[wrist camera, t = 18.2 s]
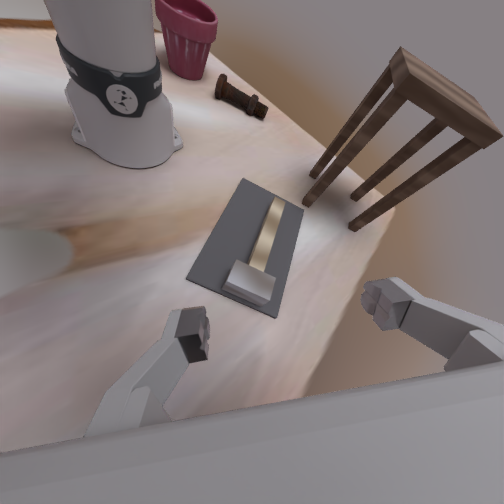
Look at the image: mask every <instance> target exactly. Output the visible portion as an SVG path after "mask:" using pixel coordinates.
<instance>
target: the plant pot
mask: <svg viewBox="0 0 504 504" xmlns="http://www.w3.org/2000/svg"><path fill="white" fill-rule="evenodd" d="M155 10H156V16H157V17H158V19H159V20H160V22H161V27H162V32H163V37H164V42H165V47H166V52H167V56H168V62H169V66H170V68H171V70H172V71H173V72H174V73H175V74H177V75H178V76H180V77H182V78H185V79H188V80H199V79H201V78H202V75H203V72H204V68H205V65H206V61H207V58H208V54H209V50H210V46H211V43H212V42H214V41H215V39H216V33H217V23H218V19H217V16H216V14H215V13H214V11H213V10H212V9H211V8H210V7H209V6H208V5H206V4H205V3H203V2H202V1H201V0H155Z"/></svg>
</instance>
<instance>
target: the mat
mask: <svg viewBox="0 0 504 504" xmlns="http://www.w3.org/2000/svg"><path fill="white" fill-rule="evenodd" d="M274 197H277V198H279V199H281V200H283V201H285V202H286V203H285V206H284V209H283V212H282V216H281V219H280V222H279V225H278V228H277V231H276V235H275V238H274V241H273V244H272V247H271V251H270V254H269V257H268V260H267V263H266V266H265V270H264V272H265V273H267V274H269V275H271V276H273V277H275V278H276V280H275V283H274V287H273V291H272V295H271V298H270V301H269V302H267V303H266V304H264V305H263V306H258V305H256V304H254V303H252V302H249V301H247V300H245V299H243V298H240V297H238V296H236V295H234V294H231V293H229V292H227V291H225V290H223V289H222V287H223V285H224V283H225V280H226V278H227V276H228V274H229V271H230V269H231V267H232V266H233V264H234V262H235V261H236V259H237V260H239V261H241V262H243V263H245V264H247V263H248V261H249V258H250V255H251V253H252V250H253V248H254V245H255V242H256V240H257V237H258V235H259V232H260V229H261V227H262V224H263V222H264V219H265V216H266V214H267V211H268V209H269V206H270V204H271V202H272V200H273V199H274ZM303 213H304V210H303V209H301V208H299V207H298V206H296V205H294V204H292V203H290V202H288V201H286V200H284V199H282V198H280V197H279V196H277V195H275V194H273V193H271V192H269V191H267V190H265V189H263V188H261V187H260V186H258V185H256V184H254V183H252V182H250V181H248V180H246V179H244V178H242V180H241V182H240V184H239V186H238V187H237V189H236V191H235V193H234V194H233V196H232V198H231V200H230V201H229V203H228V205H227V207H226V208H225V210H224V212H223V214H222V215H221V217H220V219H219V221H218V223H217V224H216V226H215V228H214V230H213V231H212V233H211V235H210V237H209V238H208V240H207V242H206V244H205V245H204V247H203V249H202V251H201V252H200V254H199V256H198V258H197V260H196V261H195V263H194V265H193V267H192V268H191V270H190V272H189V274H188V275H187V277H186V279H187V280H189V281H192V282H194V283H196V284H198V285H201V286H203V287H205V288H207V289H210V290H212V291H214V292H217V293H219V294H221V295H223V296H226V297H228V298H230V299H232V300H235V301H237V302H239V303H242V304H244V305H246V306H248V307H251V308H253V309H255V310H257V311H260V312H262V313H264V314H267V315H269V316H271V317H273V318H277V316H278V312H279V308H280V304H281V300H282V296H283V292H284V288H285V284H286V280H287V276H288V272H289V268H290V264H291V260H292V256H293V252H294V249H295V245H296V241H297V237H298V233H299V229H300V225H301V221H302V217H303Z"/></svg>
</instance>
